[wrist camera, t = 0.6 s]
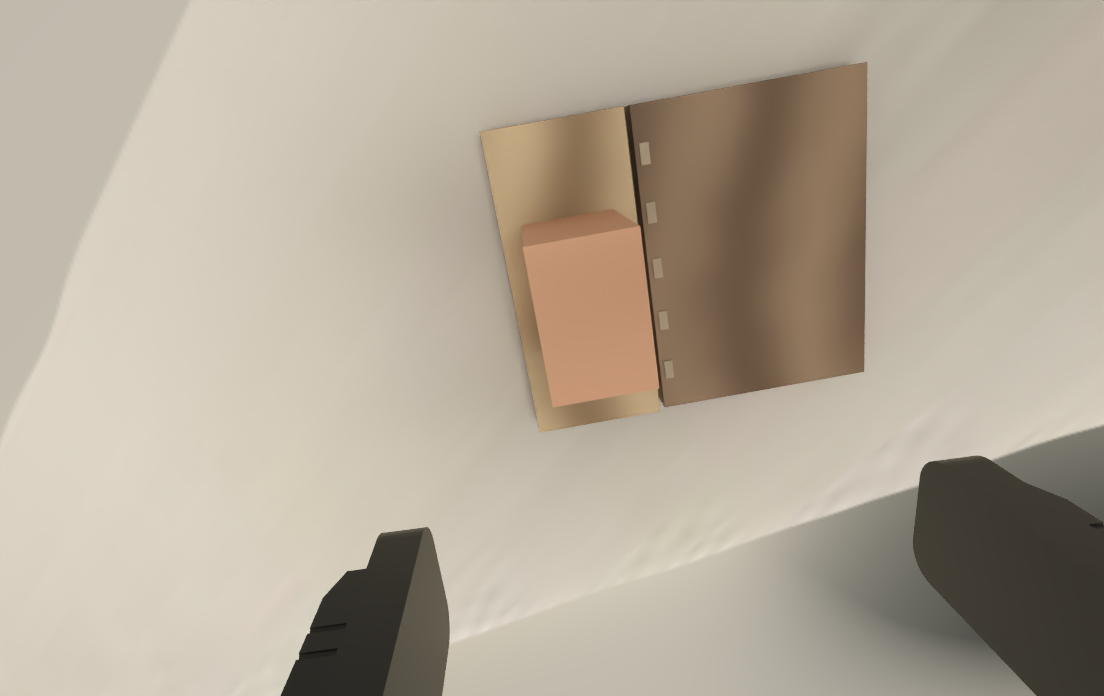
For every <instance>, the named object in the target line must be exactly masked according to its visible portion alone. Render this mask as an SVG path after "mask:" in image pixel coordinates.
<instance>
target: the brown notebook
mask: <svg viewBox="0 0 1104 696" xmlns="http://www.w3.org/2000/svg"><path fill="white" fill-rule="evenodd" d="M625 116H626V124H627V132H628V141H629V149H630V157H631V166H632V174H633V183H634V191H635V199H636V208H637V216H638V224H639V226H640V228H641V237H642V245H643V254H644V262H645V271H646V279H647V288H648V296H649V304H650V313H651V321H652V330H653V338H654V347H655V355H656V363H657V372H658V380H659V389H658V392H659V398H660V400H661V402H662V403H663V405H664V407H669V406H674V405H680V404H686V403H691V402H697V401H702V400H708V399H713V398H719V397H725V396H730V395H736V394H741V393H747V392H753V391H758V390H764V389H769V388H775V387H780V386H786V385H792V384H797V383H803V382H808V381H814V380H819V379H825V378H831V377H836V376H842V375H847V374H853V373H859V372H864V325H865V231H866V136H867V62H865V63H859V64H854V65H848V66H843V67H837V68H832V69H826V70H821V71H815V72H810V73H804V74H799V75H793V76H788V77H782V78H777V79H771V80H766V81H760V82H755V83H749V84H744V85H738V86H733V87H727V88H722V89H716V90H711V91H705V92H700V93H694V94H689V95H683V96H678V97H672V98H667V99H661V100H656V101H650V102H645V103H639V104H634V105H629V106H627V107H625Z"/></svg>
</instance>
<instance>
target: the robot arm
mask: <svg viewBox="0 0 1104 696" xmlns="http://www.w3.org/2000/svg"><path fill="white" fill-rule="evenodd" d="M913 549H914V554H915V558H916V561H917V563H918V566H919V568H920V570H921V572H922V573H923V575H924V577H925V578H926V579H927V581H928V582H929V583H930V584H931V585H932V586H933V587H934V589H936V591H938V593H939V594H940V595H941V596H942V597H943V598H944V599H945V600H946V601H947V602H948V603H949V604H950V605H951V606H952V607H953V608H954V609H955V611H956V612H957V613H958V614H959V615H960V616H961V617H962V618H963V619H964V620H965V621H966V622H967V623H968V624H969V625H970V626H971V627H972V628H973V629H974V630H975V632H976V633H977V634H979V636H980V637H981V638H982V639H983V640H984V641H985V642H986V643H987V644H988V645H989V646H990V647H991V648H992V649H993V650H994V651H995V652H996V653H997V654H998V656H999V657H1000V658H1001V659H1002V660H1003V661H1004V662H1005V663H1006V664H1007V665H1008V666H1009V667H1010V668H1011V669H1012V670H1013V671H1014V672H1015V673H1016V674H1017V676H1018V677H1019V678H1020V679H1021V680H1022V681H1023V682H1024V683H1025V684H1026V685H1027V686H1028V687H1029V688H1030V689H1031V690H1032V691H1033V692H1034V693H1035V694H1036V695H1037V696H1104V525H1103V522H1101V521H1100V520H1098V519H1097V518H1095V517H1094V516H1092V515H1090V514H1089V513H1087V512H1086V511H1084V510H1082V509H1081V508H1079V507H1078V506H1076V505H1075V504H1073V503H1072V502H1070V501H1068V500H1067V499H1064V498H1062V497H1059V496H1057V495H1054V494H1052V493H1049V492H1047V491H1044V490H1042V489H1039V488H1037V487H1034V486H1032V485H1029V484H1027V483H1024V482H1023V481H1021V480H1020V479H1018V478H1016V477H1015V476H1014V475H1012V474H1010V473H1009V472H1007V471H1006V470H1004V469H1003V468H1001V467H1000V466H998V465H997V464H995V463H994V462H992V461H991V460H989V459H987V458H985V457H982V456H970V457H963V458H955V459H948V460H940V461H933V462H929V463H927V464H926V465H924V467H923V468H922V471H921V474H920V482H919V492H918V500H917V509H916V519H915V527H914V536H913ZM449 633H450V632H449V612H448V605H447V600H446V595H445V591H444V586H443V582H442V577H441V572H440V568H439V563H438V559H437V554H436V550H435V545H434V541H433V537H432V534H431V531H430V529H429V528H428V527H425V528H418V529H410V530H403V531H395V532H388V533H381V534H380V535H379V536H378V538H377V541H376V544H375V546H374V549H373V552H372V555H371V557H370V560H369V563H368V566H367V569H361V570H354V571H347V572H346V573H345V574H344V576H343V577H342V578H341V579H340V580H339V581H338V582H337V583H336V584H335V585H334V586H333V588H332V589H331V590H330V591H329V592H328V593H327V594H326V595H325V596H324V597H323V599H322V602H321V604H320V606H319V608H318V611H317V613H316V615H315V618H314V620H313V622H312V625H311V627H310V634H307V636H306V638H305V641H304V643H303V645H302V648H301V650H300V652H299V660H296V662H295V664H294V666H293V668H292V671H291V673H290V675H289V678H288V680H287V682H286V685H285V687H284V689H283V692H282V694H281V696H442V691H443V684H444V677H445V670H446V662H447V655H448V648H449Z"/></svg>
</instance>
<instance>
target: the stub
mask: <svg viewBox="0 0 1104 696" xmlns="http://www.w3.org/2000/svg"><path fill="white" fill-rule="evenodd" d="M480 136H481V141H482V146H483V151H484V156H485V161H486V166H487V171H488V176H489V181H490V186H491V191H492V196H493V201H494V206H495V211H496V216H497V221H498V226H499V231H500V236H501V241H502V246H503V251H504V256H505V261H506V266H507V271H508V276H509V281H510V286H511V291H512V296H513V301H514V306H515V311H516V316H517V321H518V326H519V331H520V336H521V341H522V346H523V351H524V356H525V361H526V366H527V371H528V376H529V381H530V386H531V391H532V396H533V401H534V406H535V411H536V416H537V421H538V426H539V431H540V432H545V431H551V430H556V429H562V428H568V427H573V426H579V425H584V424H590V423H595V422H601V421H607V420H612V419H618V418H623V417H629V416H635V415H640V414H646V413H651V412H657V411H660V405H659V397H658V389H659V380H658V372H657V363H656V355H655V347H654V338H653V330H652V321H651V313H650V304H649V296H648V288H647V279H646V271H645V262H644V254H643V245H642V237H641V228H640V226H639V225H638V222H637V213H636V205H635V197H634V188H633V180H632V172H631V163H630V155H629V147H628V138H627V130H626V122H625V113H624V106H621V107H616V108H610V109H605V110H599V111H594V112H588V113H583V114H577V115H572V116H566V117H561V118H555V119H550V120H544V121H539V122H533V123H528V124H522V125H517V126H511V127H506V128H500V129H495V130H489V131H484V132H480Z"/></svg>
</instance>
